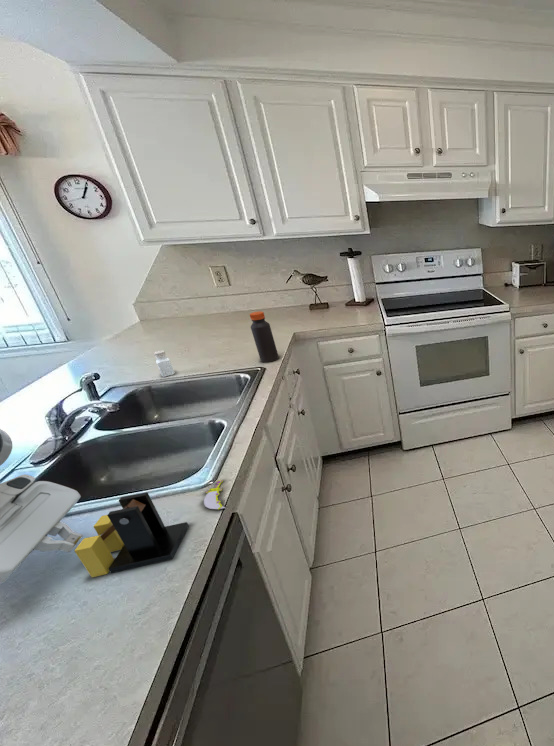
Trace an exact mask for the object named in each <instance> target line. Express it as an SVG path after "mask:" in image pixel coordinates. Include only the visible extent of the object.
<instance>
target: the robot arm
mask: <svg viewBox="0 0 554 746" xmlns="http://www.w3.org/2000/svg"><path fill="white" fill-rule="evenodd" d="M12 451H13V441H12V438H11V437H10V434H8V433H7V432H6V431H4V430H3V429H1V428H0V467H1V466H2V465H3V464H5V462H6V461H7V460H8V459H9V458H10V456H11V454H12ZM81 497H82V496H81V494H80V493H79V492H78V490H76V489H74V488H71V487H68V486H65V485H62V484H59V483H55V482H52V481H49V480H48V481H47V480H38V481H36V477H34V476H32V475H29V474H21V475H18V476H15V477H13V478H11V479H9V480H6V481H4V482H3V481H2V482H1V483H0V584H4V583H6V582H7V580H8V579H10V577H11V576H12V575H13V574H14V573H15V571H17V569H18V568H19V567H20V566H21V565H22V564H23V563H24V562H25V560H27V558H28V557H29V556H30V555H31V554H32V553H33V552H34V551H38V552H42V553H44V552H45V553H46V552H53V551H62V552H64V553H70V552H72V551H73V549H74V548H75V547H76V545H77V544H78V543H79V542H80V540H81V539H82V538H83V534H82V533H79V532H76V531H74V530H73V529H72V528H71V527H70V526H69V525H68V524H67V523H65V522H63V521H62V520H63V519H64V518H65V517H66V515H67V514H68V513H69V512H70V511H71V510H72V509H73V508H74V506H75V505H76V504H77V503H78V501H79V500H80V499H81ZM48 535H49V536H48ZM57 535H58V536H60V538H61V539H63V540H61V539H60V540H59V539H58V540H57V539H56V540H53V539H54V538H53V537H57ZM51 536H52V537H51Z"/></svg>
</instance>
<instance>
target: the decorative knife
mask: <svg viewBox="0 0 554 746" xmlns="http://www.w3.org/2000/svg"><path fill="white" fill-rule="evenodd" d="M223 482H224V480H223V479H218V480H216V481H215V482H214V483H215V485H214V487H213V488H208V489H207V490H206V491H205V497H204V499H203V505H204V506H205V507H206V508H207V509H210V510H222V509H226V508H227V507H225V506H223V504H222V503H221V502H222V501H221V500H219V497H218V496H220V495H221V494H220V492H223V487H220V486H221V484H222V483H223Z"/></svg>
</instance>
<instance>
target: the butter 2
mask: <svg viewBox="0 0 554 746" xmlns="http://www.w3.org/2000/svg"><path fill="white" fill-rule="evenodd" d="M74 553H75V554H76V556H77V557H78V560H80V562H81V563H82V565H83V566H84V568H85V569H86V571H87V573H88V574H89V575H90V577H91V578H96V577H100V576H105V575H108V574H109V572H110V570H109V567H110V566H111V564H112V563H113V561H114V560H115V558H114V556H113V554H112V552H110V551H109V549H108V548H107V546H106V545H105V543H104V541H103V540H102V538H101V536H100V535H98V534H97V535H94V536H89V537H85V538H83V539H82V540H81V541H80V543H79V544H78V545H77V546H76V547H75V549H74Z"/></svg>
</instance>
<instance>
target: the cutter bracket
mask: <svg viewBox="0 0 554 746" xmlns="http://www.w3.org/2000/svg"><path fill="white" fill-rule="evenodd" d="M133 499H134V500H136V501H139V502H141V503H143V504H145V505H146V506H145V507H144V509H143V510H142V512H141V511H140V509H139V507H138V506H136V507H131V508H126V509H123V508H124V507H125V506H126V505H127V504H128V503H129V502H131V501H132V500H133ZM118 502H119V504H120V506H121V508H122V509H121V508H120V509H117V510H110V511H108V513H107V514H106V515H107V516H108V517H109V519H110V521H111V522H112V524H113V526H114V528H115V529H116V531H117V533H118V535H119V536H120V538H121V540H122V541H123V543H124V546H123V547H122V549H121V550H119V551H118V554H117V555H116V557H115V558H114V559H115V560H114V561H113V563H112V564H111V566H110V567H109V570H110V571H109V572H110V573H111V574H112V573H118V572H123V571H127V570H131V569H135V568H140V567H143V566H144V567H145V566H148V565H153V564H158V563H162V562H165V561H170V560H173V559H174V556H175V554H176V552H177V550H178V548H179V546H180V545H181V543H182V540H183V538H184V537H185V535H186V532H187V531H188V529H189V526H190V525H189V524H188V522H187V521H186V522H181V523H176V524H175V523H174V524H171V525H166V526H165V523H164V522H163V520H162V518H161V515H160V514H159V512H158V510H157V508H156V505H155V504H154V502H153V500H152V498H151V496H150V494H149V492H148V491H146V492H142V493H141V492H140V493H136V494H131V495H126V496H121V497H120V498H119V499H118Z"/></svg>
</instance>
